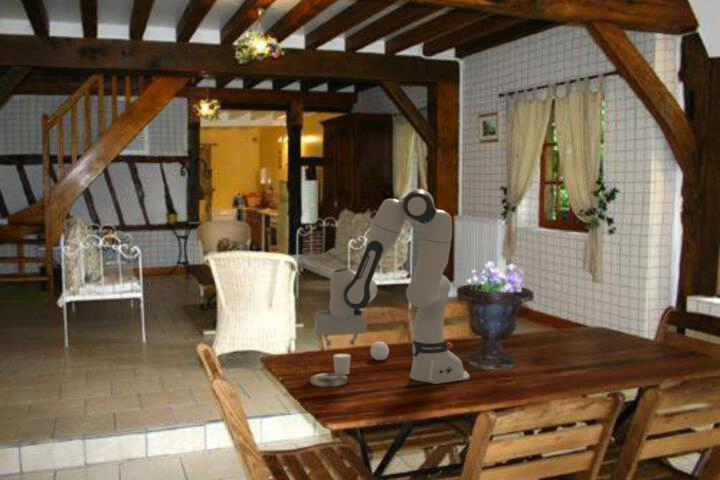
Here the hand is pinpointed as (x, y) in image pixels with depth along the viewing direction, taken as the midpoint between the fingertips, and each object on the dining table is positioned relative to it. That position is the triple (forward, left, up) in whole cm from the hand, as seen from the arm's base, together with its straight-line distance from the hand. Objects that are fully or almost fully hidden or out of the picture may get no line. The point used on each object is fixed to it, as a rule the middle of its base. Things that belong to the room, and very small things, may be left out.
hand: (340, 344), depth 278 cm
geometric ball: (-20, -16, -11) cm, 28 cm away
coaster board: (+6, +10, -11) cm, 16 cm away
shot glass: (-1, 0, -11) cm, 11 cm away
